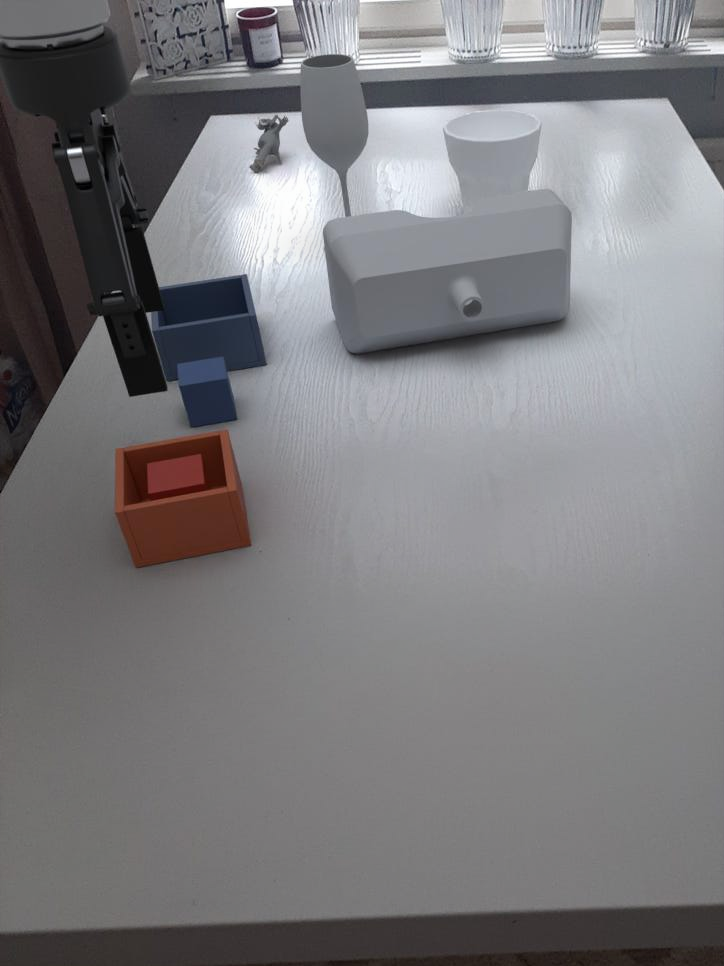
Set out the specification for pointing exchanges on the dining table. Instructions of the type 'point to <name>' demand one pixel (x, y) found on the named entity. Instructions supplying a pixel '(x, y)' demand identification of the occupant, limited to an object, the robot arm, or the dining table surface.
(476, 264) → the tank
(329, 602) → the dining table surface
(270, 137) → the elephant figurine
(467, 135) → the cup
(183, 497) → the terracotta bin
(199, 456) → the red block
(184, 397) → the blue block
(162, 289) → the slate bin
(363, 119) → the wineglass
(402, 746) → the dining table surface
